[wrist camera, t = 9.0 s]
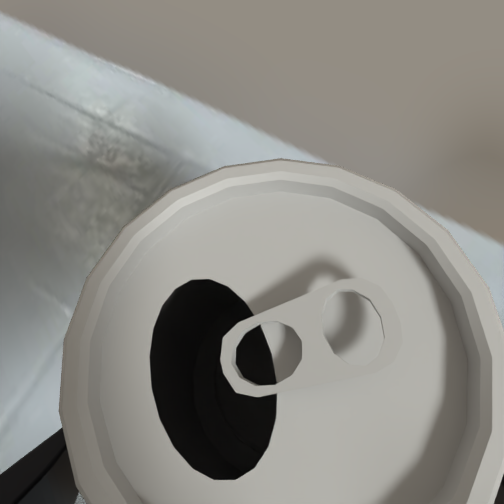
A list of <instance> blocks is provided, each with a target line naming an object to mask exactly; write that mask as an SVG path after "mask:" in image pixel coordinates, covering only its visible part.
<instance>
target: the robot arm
mask: <svg viewBox="0 0 504 504" xmlns="http://www.w3.org/2000/svg"><path fill="white" fill-rule="evenodd" d="M78 493H79V490H78V489H77V487H76V484H75V480H74V476H73V471H72V467H71V463H70V458H69V454H68V449H67V445H66V441H65V436H64V432H63V428H61V429H60V430H58V431H57V432H56V433H54V434H53V435H52V436H50V437H49V438H48V439H47V440H45V441H44V442H43V443H41V444H40V445H39V446H37V447H36V448H35V449H33V450H32V451H31V452H29V453H28V454H27V455H25V456H24V457H23V458H21V459H20V460H19V461H17V462H16V463H15V464H13V465H12V466H11V467H9V468H8V469H7V470H6V471H4V472H3V473H2V474H0V504H75V501H76V499H77V496H78ZM494 504H504V474H503V477H502V480H501V483H500V486H499V489H498V492H497V495H496V498H495V501H494Z"/></svg>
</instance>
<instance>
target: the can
mask: <svg viewBox="0 0 504 504" xmlns="http://www.w3.org/2000/svg"><path fill="white" fill-rule="evenodd" d="M59 414H60V419H61V423H62V428H63V432H64V436H65V441H66V445H67V449H68V454H69V458H70V463H71V467H72V471H73V476H74V480H75V484H76V487H77V489H78V490H79V492H80V494H81V495H82V497H83V499H84V500H85V502H86V504H494V501H495V498H496V495H497V492H498V489H499V486H500V483H501V480H502V477H503V474H504V330H503V327H502V324H501V321H500V318H499V315H498V312H497V309H496V306H495V303H494V301H493V298H492V295H491V292H490V289H489V287H488V285H487V284H486V283H485V281H484V280H483V278H482V277H481V276H480V274H479V273H478V271H477V270H476V269H475V267H474V266H473V264H472V263H471V262H470V260H469V259H468V257H467V256H466V255H465V253H464V252H463V250H462V249H461V248H460V246H459V245H458V243H457V242H456V241H455V239H454V238H453V236H452V235H451V234H450V232H449V231H448V230H447V229H446V228H444V227H443V226H442V225H441V224H439V223H438V222H437V221H436V220H434V219H433V218H432V217H431V216H429V215H428V214H427V213H425V212H424V211H423V210H422V209H420V208H419V207H418V206H417V205H415V204H414V203H413V202H412V201H410V200H409V199H408V198H407V197H405V196H404V195H403V194H402V193H400V192H399V191H398V190H396V189H394V188H391V187H389V186H387V185H384V184H382V183H379V182H377V181H375V180H372V179H370V178H367V177H365V176H363V175H360V174H358V173H355V172H353V171H351V170H348V169H346V168H344V167H341V166H337V165H329V164H321V163H313V162H305V161H298V160H290V159H282V158H280V159H273V160H266V161H259V162H252V163H245V164H238V165H231V166H224V167H221V168H219V169H217V170H214V171H212V172H210V173H207V174H205V175H203V176H200V177H198V178H196V179H193V180H191V181H189V182H186V183H184V184H182V185H180V186H177V187H175V188H173V189H170V190H169V191H168V192H166V193H165V194H164V195H163V196H161V197H160V198H159V199H158V200H156V201H155V202H154V203H153V204H151V205H150V206H149V207H148V208H146V209H145V210H144V211H143V212H141V213H140V214H139V215H138V216H136V217H135V218H134V219H133V220H131V221H130V222H129V223H128V224H126V225H125V226H124V227H123V228H122V230H121V231H120V232H119V234H118V235H117V237H116V238H115V239H114V241H113V242H112V243H111V245H110V246H109V248H108V249H107V250H106V252H105V253H104V254H103V256H102V257H101V259H100V260H99V261H98V263H97V264H96V266H95V267H94V268H93V270H92V271H91V272H90V274H89V275H88V277H87V278H86V281H85V284H84V287H83V289H82V292H81V295H80V297H79V300H78V303H77V306H76V308H75V311H74V314H73V316H72V319H71V322H70V325H69V327H68V330H67V333H66V335H65V338H64V344H63V359H62V373H61V387H60V401H59Z"/></svg>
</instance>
